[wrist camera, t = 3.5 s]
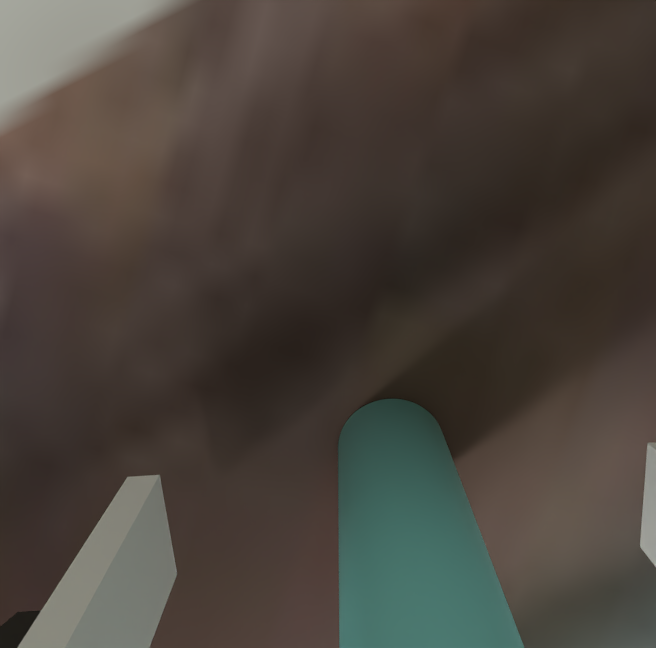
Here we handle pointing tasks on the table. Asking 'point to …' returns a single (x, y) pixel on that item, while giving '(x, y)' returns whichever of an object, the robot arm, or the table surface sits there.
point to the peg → (411, 540)
